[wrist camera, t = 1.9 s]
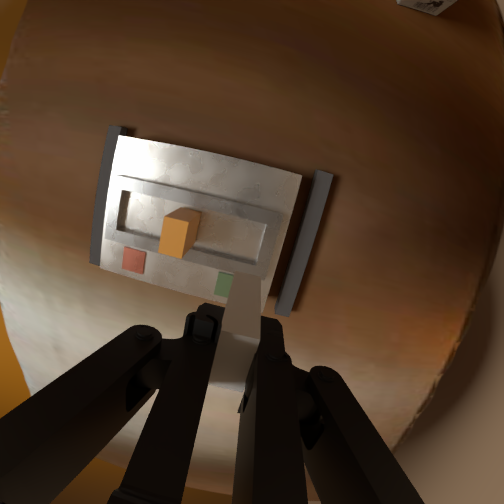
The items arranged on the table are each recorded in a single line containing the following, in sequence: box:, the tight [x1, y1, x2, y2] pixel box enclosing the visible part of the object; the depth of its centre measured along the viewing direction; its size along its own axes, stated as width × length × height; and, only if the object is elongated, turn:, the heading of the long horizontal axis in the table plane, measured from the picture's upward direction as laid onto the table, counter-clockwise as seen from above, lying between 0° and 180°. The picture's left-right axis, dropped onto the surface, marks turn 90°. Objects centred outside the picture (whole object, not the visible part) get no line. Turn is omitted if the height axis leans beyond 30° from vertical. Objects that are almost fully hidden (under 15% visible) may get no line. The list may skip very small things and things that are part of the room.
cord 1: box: [89, 125, 128, 266], centre depth 31 cm, size 16×2×2 cm, turn 166°
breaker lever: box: [158, 207, 201, 259], centre depth 25 cm, size 3×2×5 cm, turn 165°
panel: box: [100, 136, 302, 313], centre depth 29 cm, size 14×18×5 cm
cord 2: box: [275, 170, 333, 317], centre depth 31 cm, size 16×2×2 cm, turn 166°
